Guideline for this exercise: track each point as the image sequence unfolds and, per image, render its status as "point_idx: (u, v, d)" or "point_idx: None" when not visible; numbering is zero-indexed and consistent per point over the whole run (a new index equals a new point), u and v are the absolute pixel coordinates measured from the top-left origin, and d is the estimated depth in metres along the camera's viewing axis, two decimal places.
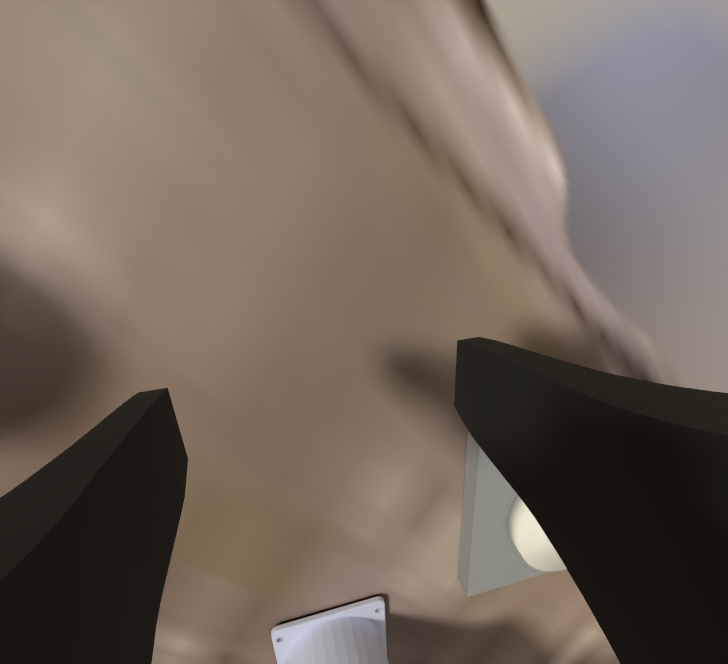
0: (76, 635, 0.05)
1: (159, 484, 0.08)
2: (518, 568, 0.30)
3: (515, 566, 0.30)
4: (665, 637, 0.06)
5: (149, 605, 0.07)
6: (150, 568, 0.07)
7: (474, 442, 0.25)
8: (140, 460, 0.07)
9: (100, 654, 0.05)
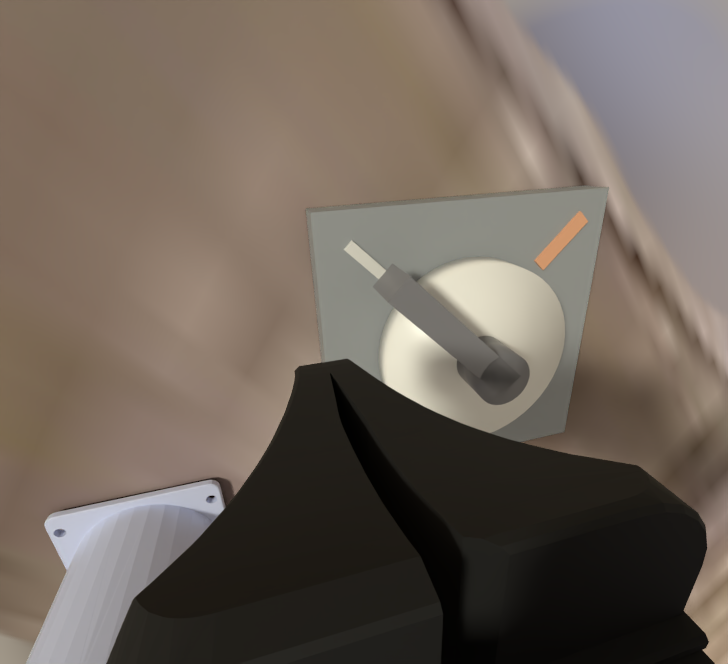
0: None
1: None
2: None
3: None
4: None
5: None
6: None
7: (309, 220, 0.17)
8: None
9: None
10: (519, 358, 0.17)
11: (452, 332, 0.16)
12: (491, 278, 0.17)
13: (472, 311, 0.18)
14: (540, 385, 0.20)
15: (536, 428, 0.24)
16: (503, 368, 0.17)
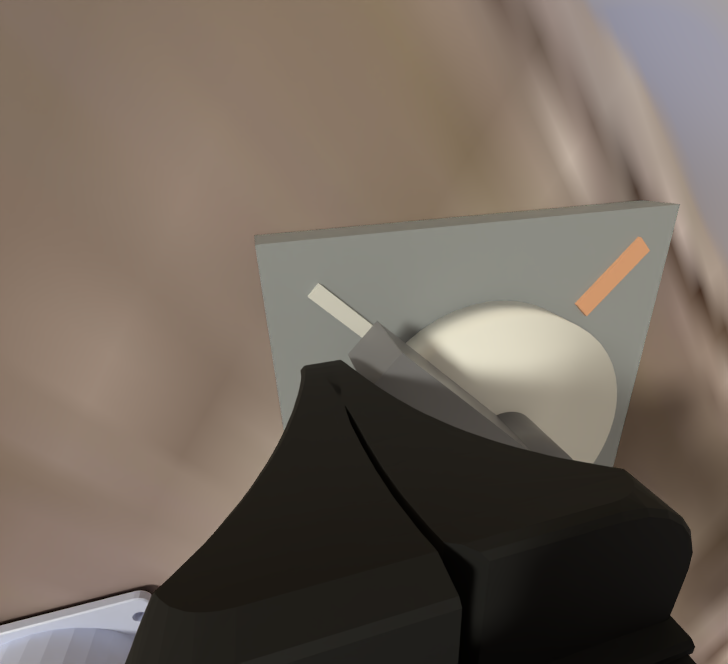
0: None
1: None
2: None
3: None
4: None
5: None
6: None
7: None
8: None
9: None
10: (562, 455, 0.12)
11: (466, 427, 0.10)
12: (521, 336, 0.12)
13: (493, 381, 0.12)
14: None
15: None
16: None
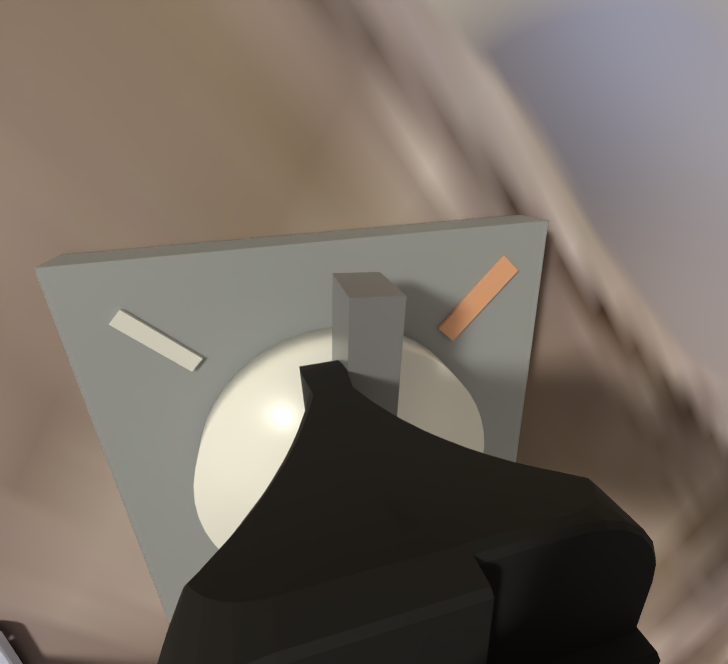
0: None
1: None
2: None
3: None
4: None
5: None
6: None
7: None
8: None
9: None
10: None
11: None
12: (447, 398, 0.12)
13: (397, 415, 0.12)
14: None
15: None
16: None
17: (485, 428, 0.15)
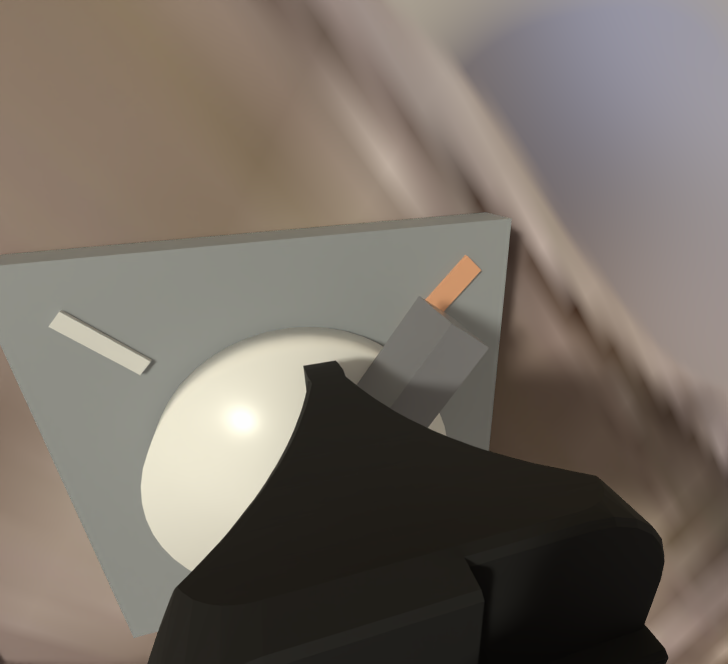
0: None
1: None
2: None
3: None
4: None
5: None
6: None
7: None
8: None
9: None
10: None
11: None
12: None
13: None
14: None
15: None
16: None
17: (453, 432, 0.15)
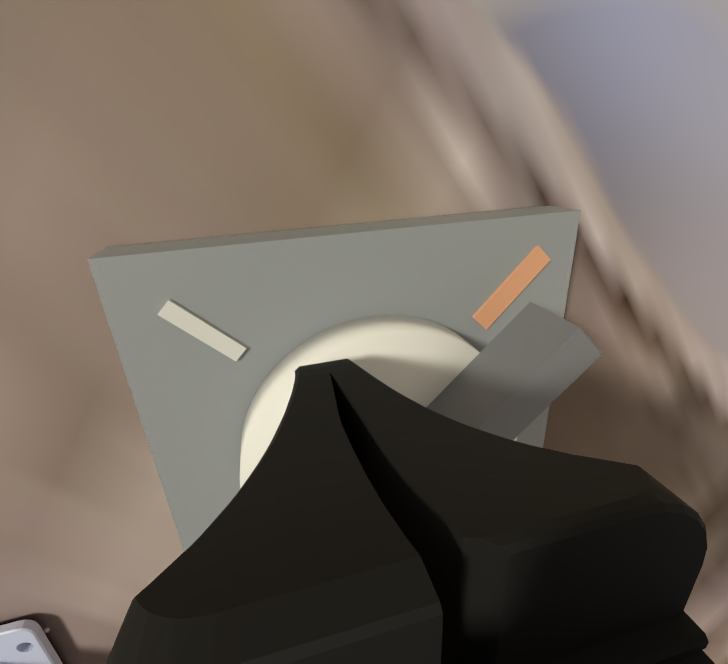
0: None
1: None
2: None
3: None
4: None
5: None
6: None
7: None
8: None
9: None
10: None
11: (510, 424, 0.11)
12: None
13: None
14: None
15: None
16: None
17: None
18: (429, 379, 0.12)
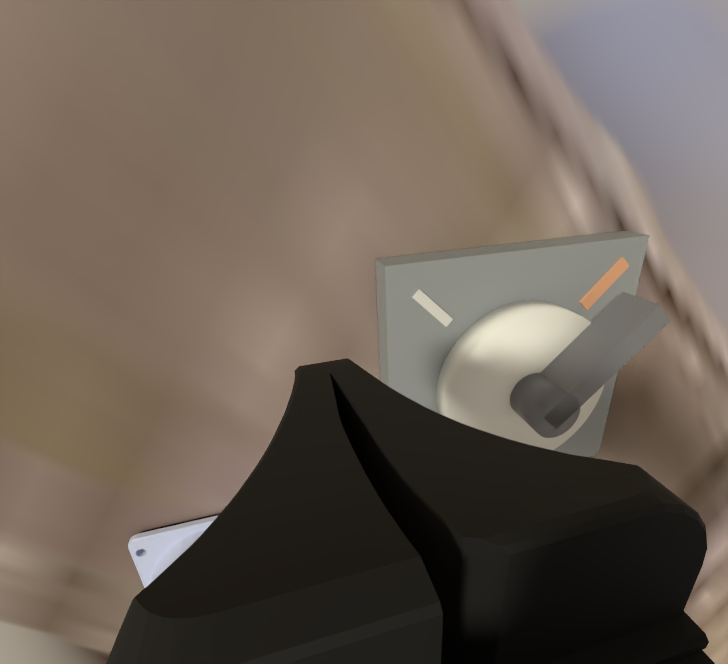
0: None
1: None
2: None
3: None
4: None
5: None
6: None
7: (381, 271, 0.18)
8: None
9: None
10: (572, 424, 0.19)
11: (617, 361, 0.18)
12: None
13: None
14: None
15: (573, 451, 0.25)
16: (569, 412, 0.19)
17: None
18: (561, 338, 0.20)
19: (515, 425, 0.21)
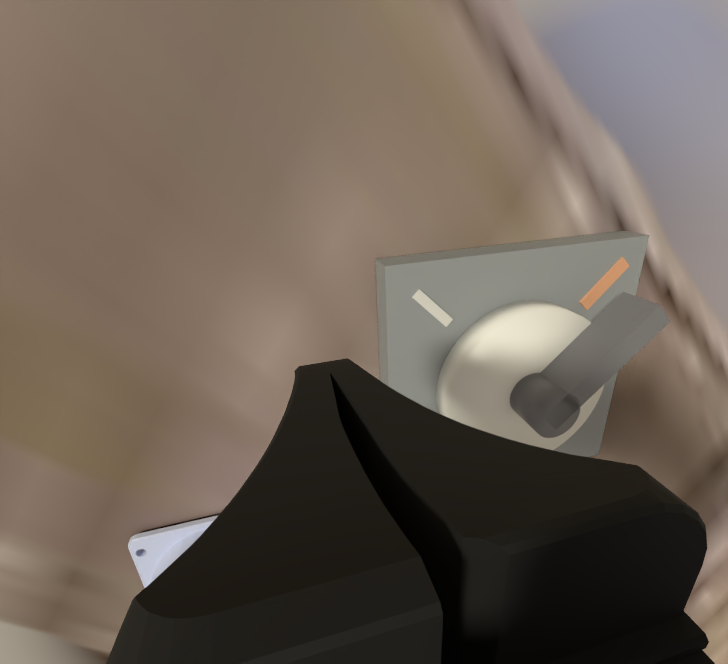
0: None
1: None
2: None
3: None
4: None
5: None
6: None
7: (381, 271, 0.18)
8: None
9: None
10: (572, 424, 0.19)
11: (617, 361, 0.18)
12: None
13: None
14: None
15: (573, 451, 0.25)
16: (569, 412, 0.19)
17: None
18: (561, 338, 0.20)
19: (515, 425, 0.21)
